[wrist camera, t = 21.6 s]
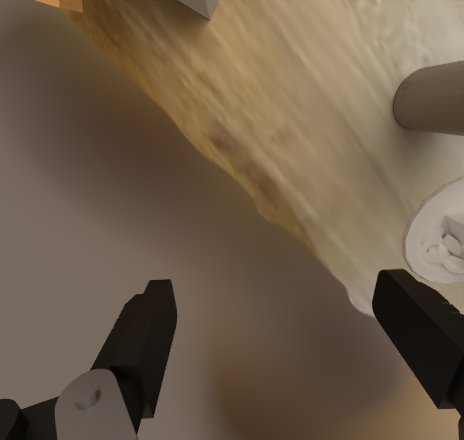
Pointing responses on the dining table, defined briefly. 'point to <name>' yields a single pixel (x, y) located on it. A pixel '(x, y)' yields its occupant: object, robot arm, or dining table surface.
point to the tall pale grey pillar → (201, 6)
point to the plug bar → (65, 4)
